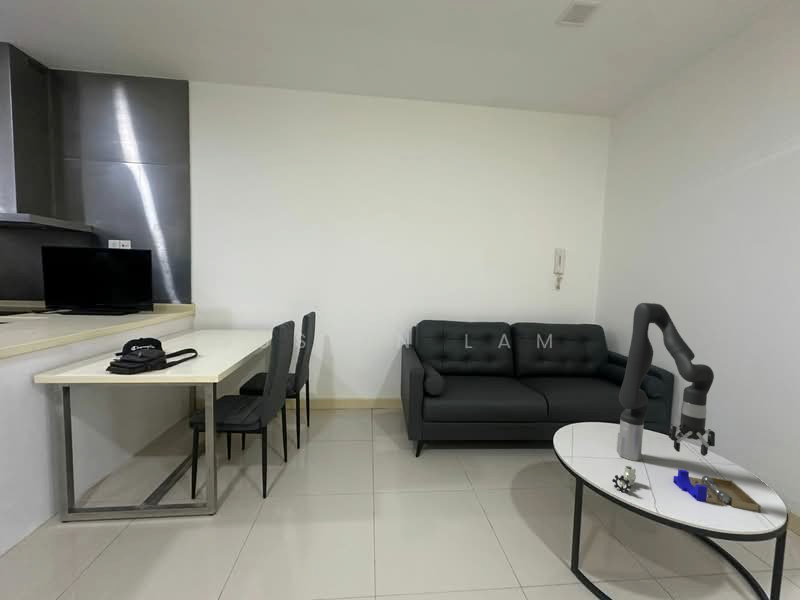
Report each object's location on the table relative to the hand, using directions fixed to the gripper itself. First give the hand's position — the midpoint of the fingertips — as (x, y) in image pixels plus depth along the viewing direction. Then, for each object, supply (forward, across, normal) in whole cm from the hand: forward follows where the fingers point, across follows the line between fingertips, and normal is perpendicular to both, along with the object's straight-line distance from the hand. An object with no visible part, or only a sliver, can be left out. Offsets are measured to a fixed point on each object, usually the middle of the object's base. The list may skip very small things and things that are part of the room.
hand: (690, 452), depth 134 cm
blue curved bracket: (+16, +1, 0) cm, 17 cm away
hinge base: (+16, +12, +3) cm, 20 cm away
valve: (+16, -23, -5) cm, 29 cm away
